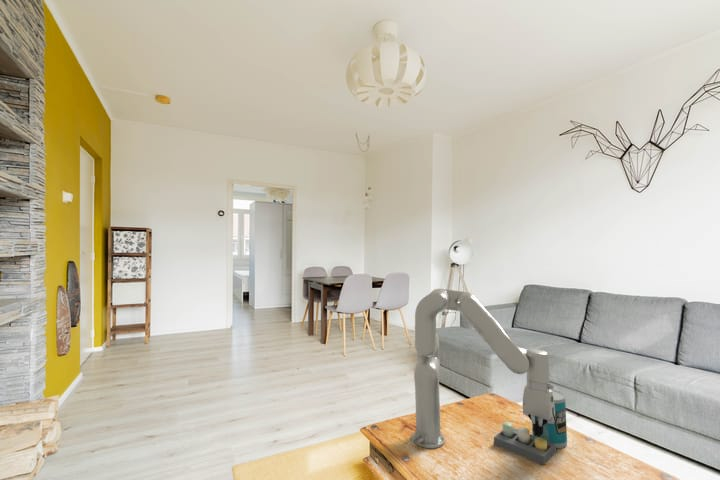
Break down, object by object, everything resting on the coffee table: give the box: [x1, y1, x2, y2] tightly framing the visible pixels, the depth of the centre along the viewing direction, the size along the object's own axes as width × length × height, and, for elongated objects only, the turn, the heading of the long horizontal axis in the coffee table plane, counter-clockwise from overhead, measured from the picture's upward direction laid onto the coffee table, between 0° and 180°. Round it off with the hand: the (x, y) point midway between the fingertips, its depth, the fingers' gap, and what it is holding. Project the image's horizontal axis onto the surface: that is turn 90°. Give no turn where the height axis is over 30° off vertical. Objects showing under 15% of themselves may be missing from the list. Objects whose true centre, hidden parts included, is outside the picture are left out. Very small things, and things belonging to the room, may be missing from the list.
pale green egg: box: [501, 421, 515, 437], centre depth 135 cm, size 4×4×4 cm
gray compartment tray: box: [493, 428, 557, 466], centre depth 130 cm, size 12×18×3 cm, turn 43°
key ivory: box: [517, 426, 531, 444], centre depth 130 cm, size 4×4×4 cm
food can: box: [531, 389, 568, 449], centre depth 136 cm, size 12×12×18 cm
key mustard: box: [535, 438, 547, 452], centre depth 126 cm, size 4×4×4 cm
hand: (538, 434), depth 126 cm, fingers closed
